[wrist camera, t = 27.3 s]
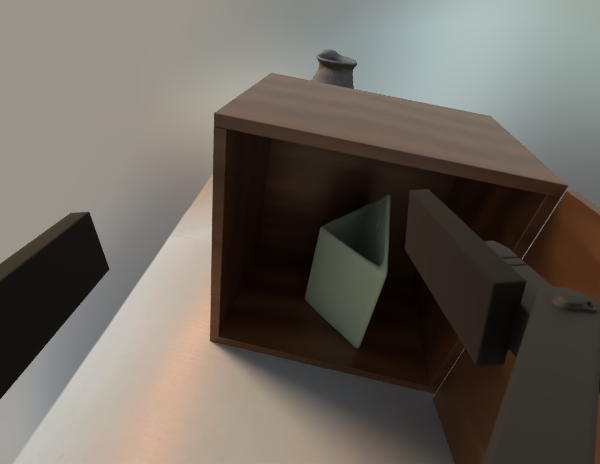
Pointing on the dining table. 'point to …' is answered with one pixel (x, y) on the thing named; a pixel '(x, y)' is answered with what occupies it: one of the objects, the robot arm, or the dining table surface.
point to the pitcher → (335, 69)
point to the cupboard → (345, 199)
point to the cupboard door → (494, 379)
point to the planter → (351, 268)
